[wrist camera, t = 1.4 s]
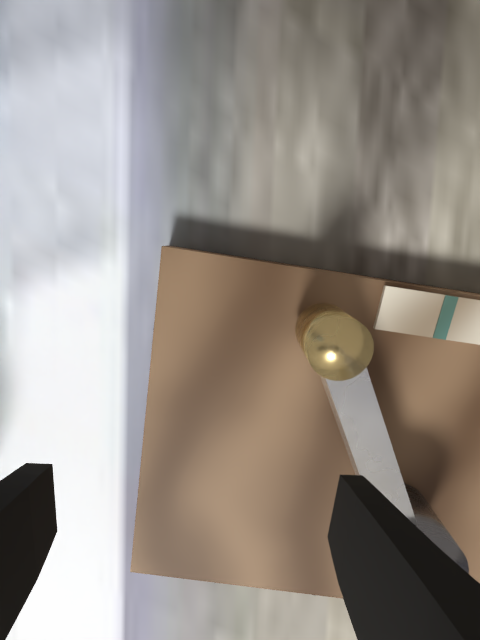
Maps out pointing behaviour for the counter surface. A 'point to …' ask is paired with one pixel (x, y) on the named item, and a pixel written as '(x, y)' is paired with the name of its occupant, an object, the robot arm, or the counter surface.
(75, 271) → the counter surface
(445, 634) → the robot arm
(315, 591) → the level stand
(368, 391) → the crank handle
